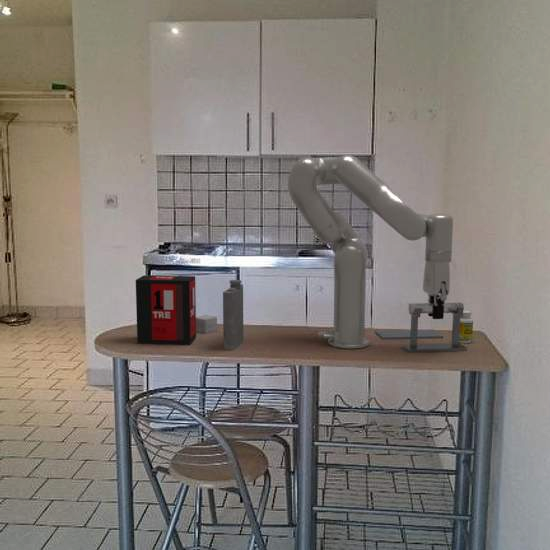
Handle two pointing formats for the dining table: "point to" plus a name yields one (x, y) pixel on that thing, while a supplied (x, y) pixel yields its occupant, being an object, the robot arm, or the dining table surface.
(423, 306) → the grey metallic bar
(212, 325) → the small box
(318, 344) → the dining table surface
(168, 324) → the cleaning product box
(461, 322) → the supplement bottle
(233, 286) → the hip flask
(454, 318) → the hook stand
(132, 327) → the dining table surface
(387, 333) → the slate mat
